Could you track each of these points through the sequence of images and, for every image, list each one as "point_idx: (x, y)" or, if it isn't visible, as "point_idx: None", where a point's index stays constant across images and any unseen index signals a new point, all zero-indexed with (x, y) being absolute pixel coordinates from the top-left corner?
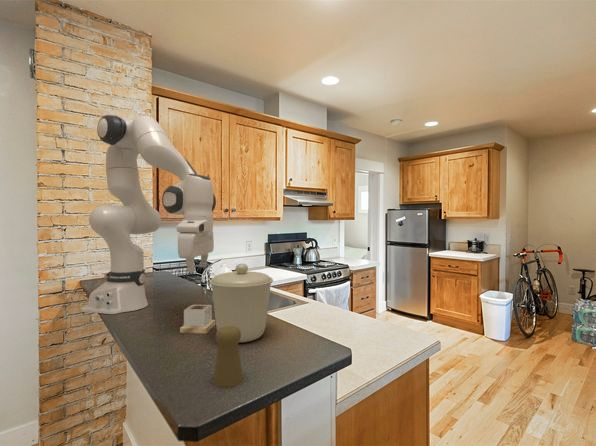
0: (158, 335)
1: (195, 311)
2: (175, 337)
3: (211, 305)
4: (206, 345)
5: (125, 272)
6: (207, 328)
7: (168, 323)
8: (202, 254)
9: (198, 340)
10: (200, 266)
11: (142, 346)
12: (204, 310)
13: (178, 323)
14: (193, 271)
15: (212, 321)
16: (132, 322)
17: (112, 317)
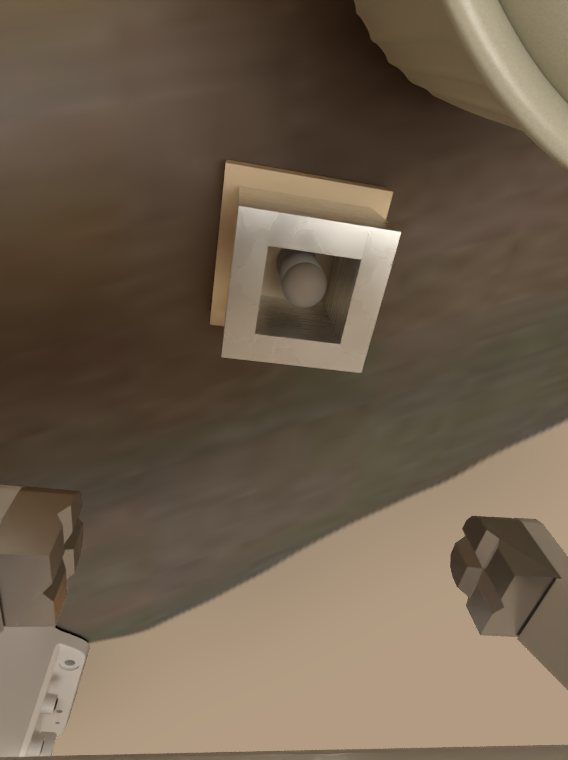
0: (365, 410)
1: (381, 296)
2: (407, 334)
3: (248, 207)
4: None
5: None
6: (375, 187)
7: (200, 421)
8: (384, 756)
9: (479, 210)
10: (78, 546)
11: (477, 423)
12: (394, 234)
13: (200, 378)
14: (529, 519)
15: (261, 177)
16: (186, 551)
17: (124, 628)
